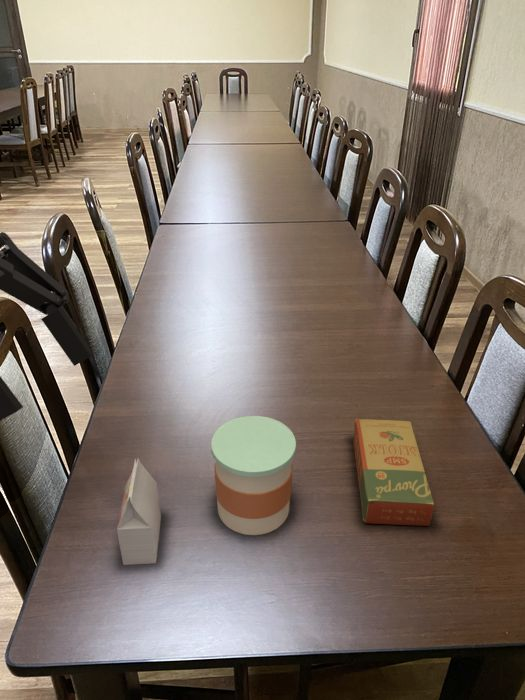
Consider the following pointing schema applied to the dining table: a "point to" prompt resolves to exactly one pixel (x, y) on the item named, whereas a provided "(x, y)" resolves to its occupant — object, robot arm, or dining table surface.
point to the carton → (391, 474)
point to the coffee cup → (253, 473)
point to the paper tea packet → (139, 518)
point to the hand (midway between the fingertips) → (51, 384)
